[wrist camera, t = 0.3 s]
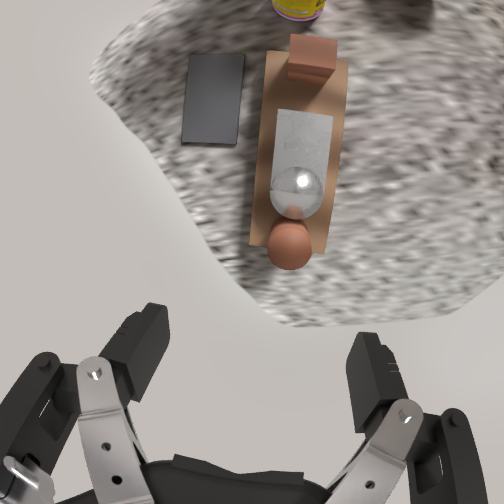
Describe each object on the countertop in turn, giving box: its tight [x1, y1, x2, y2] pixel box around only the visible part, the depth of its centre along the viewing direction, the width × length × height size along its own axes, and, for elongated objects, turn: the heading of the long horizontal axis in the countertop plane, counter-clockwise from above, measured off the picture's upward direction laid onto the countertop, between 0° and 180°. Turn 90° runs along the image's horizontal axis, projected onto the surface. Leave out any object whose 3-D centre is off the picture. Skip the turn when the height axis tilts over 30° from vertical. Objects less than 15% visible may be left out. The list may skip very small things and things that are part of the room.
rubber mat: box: [182, 54, 245, 144], centre depth 30 cm, size 12×7×1 cm, turn 175°
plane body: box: [249, 34, 349, 270], centre depth 27 cm, size 23×9×11 cm, turn 175°
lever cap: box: [270, 109, 333, 219], centre depth 27 cm, size 11×5×4 cm, turn 175°
